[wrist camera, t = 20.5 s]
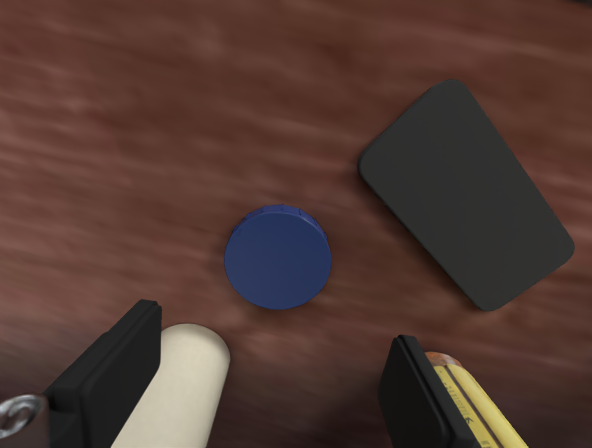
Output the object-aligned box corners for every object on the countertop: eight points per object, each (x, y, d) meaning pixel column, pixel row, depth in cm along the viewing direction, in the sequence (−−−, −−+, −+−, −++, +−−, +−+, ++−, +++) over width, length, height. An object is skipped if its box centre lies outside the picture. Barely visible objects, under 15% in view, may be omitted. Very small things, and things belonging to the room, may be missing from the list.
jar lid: (211, 229, 18) (202, 239, 17) (304, 186, 18) (305, 192, 16) (257, 308, 20) (254, 324, 18) (343, 272, 19) (348, 286, 18)
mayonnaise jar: (246, 362, 22) (205, 556, 12) (189, 398, 23) (106, 604, 13) (193, 309, 20) (93, 479, 10) (134, 349, 21) (-9, 539, 11)
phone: (486, 318, 20) (350, 165, 16) (478, 311, 20) (347, 164, 17) (582, 251, 18) (455, 68, 15) (570, 247, 19) (447, 71, 15)
